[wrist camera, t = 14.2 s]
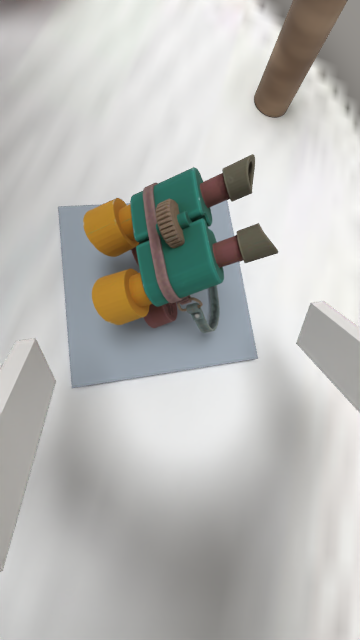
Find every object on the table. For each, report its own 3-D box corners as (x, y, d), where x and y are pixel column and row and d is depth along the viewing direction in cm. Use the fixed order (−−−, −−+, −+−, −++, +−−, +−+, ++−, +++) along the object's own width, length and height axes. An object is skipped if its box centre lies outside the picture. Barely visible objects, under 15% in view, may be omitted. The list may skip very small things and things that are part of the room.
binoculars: (157, 241, 22) (63, 172, 13) (261, 199, 18) (232, 60, 9) (175, 342, 20) (82, 347, 11) (290, 319, 17) (292, 298, 8)
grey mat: (60, 211, 19) (58, 206, 19) (224, 203, 22) (226, 199, 21) (74, 387, 17) (71, 388, 17) (254, 358, 19) (257, 358, 19)
